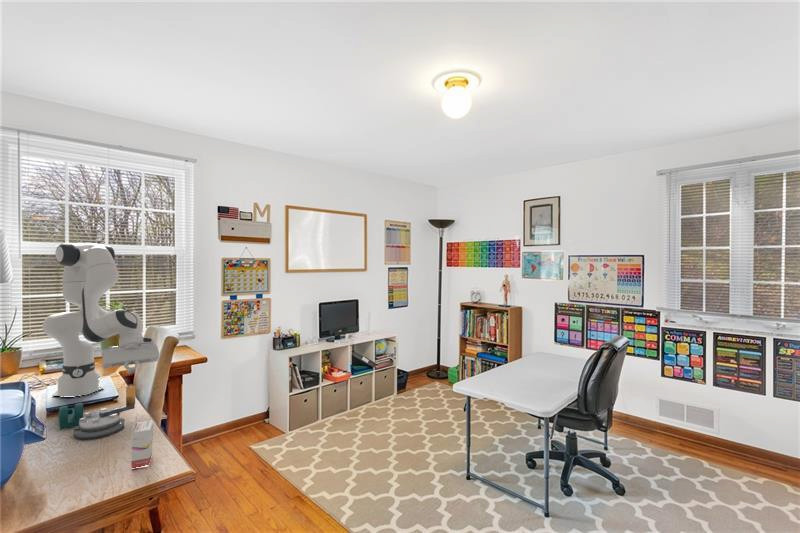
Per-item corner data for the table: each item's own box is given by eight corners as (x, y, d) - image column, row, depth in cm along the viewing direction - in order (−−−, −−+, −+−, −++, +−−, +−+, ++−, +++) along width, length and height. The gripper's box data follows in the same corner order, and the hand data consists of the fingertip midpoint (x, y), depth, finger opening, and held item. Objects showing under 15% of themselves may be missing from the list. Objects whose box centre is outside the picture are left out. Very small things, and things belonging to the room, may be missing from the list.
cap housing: (75, 428, 145) (75, 422, 145) (124, 419, 154) (124, 413, 154) (71, 444, 133) (71, 437, 133) (124, 433, 142) (124, 427, 142)
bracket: (83, 425, 148) (83, 405, 148) (60, 430, 144) (60, 409, 144) (79, 411, 162) (79, 393, 161) (58, 415, 157) (58, 396, 157)
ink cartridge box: (150, 467, 120) (150, 420, 120) (130, 470, 117) (131, 423, 117) (153, 454, 127) (153, 410, 127) (135, 457, 125) (135, 413, 125)
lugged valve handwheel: (86, 434, 135) (86, 401, 135) (74, 426, 142) (74, 394, 142) (141, 418, 150) (141, 388, 150) (128, 411, 157) (128, 382, 156)
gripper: (101, 343, 162) (100, 372, 154) (158, 338, 174) (160, 364, 166) (101, 352, 166) (101, 380, 158) (157, 346, 178) (159, 372, 170)
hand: (131, 372), depth 162 cm, fingers closed
